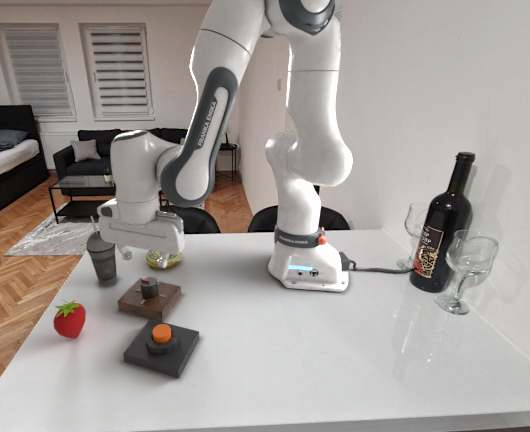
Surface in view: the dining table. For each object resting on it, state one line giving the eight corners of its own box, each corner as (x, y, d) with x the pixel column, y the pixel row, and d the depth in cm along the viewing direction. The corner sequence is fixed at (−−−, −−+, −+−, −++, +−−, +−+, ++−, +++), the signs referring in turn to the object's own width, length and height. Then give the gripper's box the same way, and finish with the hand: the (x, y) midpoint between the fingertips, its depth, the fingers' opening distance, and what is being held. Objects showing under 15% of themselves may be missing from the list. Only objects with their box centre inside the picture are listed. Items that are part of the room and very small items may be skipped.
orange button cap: (174, 332, 62) (173, 326, 62) (165, 345, 59) (165, 339, 59) (158, 328, 63) (158, 322, 63) (149, 341, 60) (148, 334, 60)
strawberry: (53, 352, 62) (41, 314, 58) (68, 325, 69) (58, 289, 65) (82, 350, 63) (72, 313, 59) (94, 324, 70) (86, 288, 66)
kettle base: (199, 339, 65) (198, 324, 64) (179, 378, 57) (177, 363, 55) (150, 326, 69) (149, 312, 67) (124, 361, 60) (121, 346, 59)
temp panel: (181, 295, 79) (181, 285, 77) (163, 322, 70) (161, 311, 69) (141, 286, 82) (140, 277, 81) (119, 310, 74) (117, 300, 72)
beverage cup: (113, 291, 80) (100, 223, 72) (88, 288, 82) (73, 221, 73) (126, 275, 87) (116, 211, 79) (103, 272, 88) (91, 209, 80)
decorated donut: (188, 264, 92) (187, 253, 91) (154, 275, 87) (153, 264, 85) (173, 249, 100) (172, 239, 99) (141, 259, 95) (140, 248, 93)
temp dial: (161, 289, 76) (160, 277, 74) (153, 299, 73) (151, 287, 71) (147, 286, 77) (145, 274, 76) (138, 296, 74) (136, 283, 72)
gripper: (188, 209, 65) (190, 263, 71) (109, 197, 71) (116, 249, 77) (175, 220, 60) (179, 278, 65) (90, 207, 66) (100, 261, 71)
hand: (144, 262), depth 71 cm, fingers open, 8 cm apart
